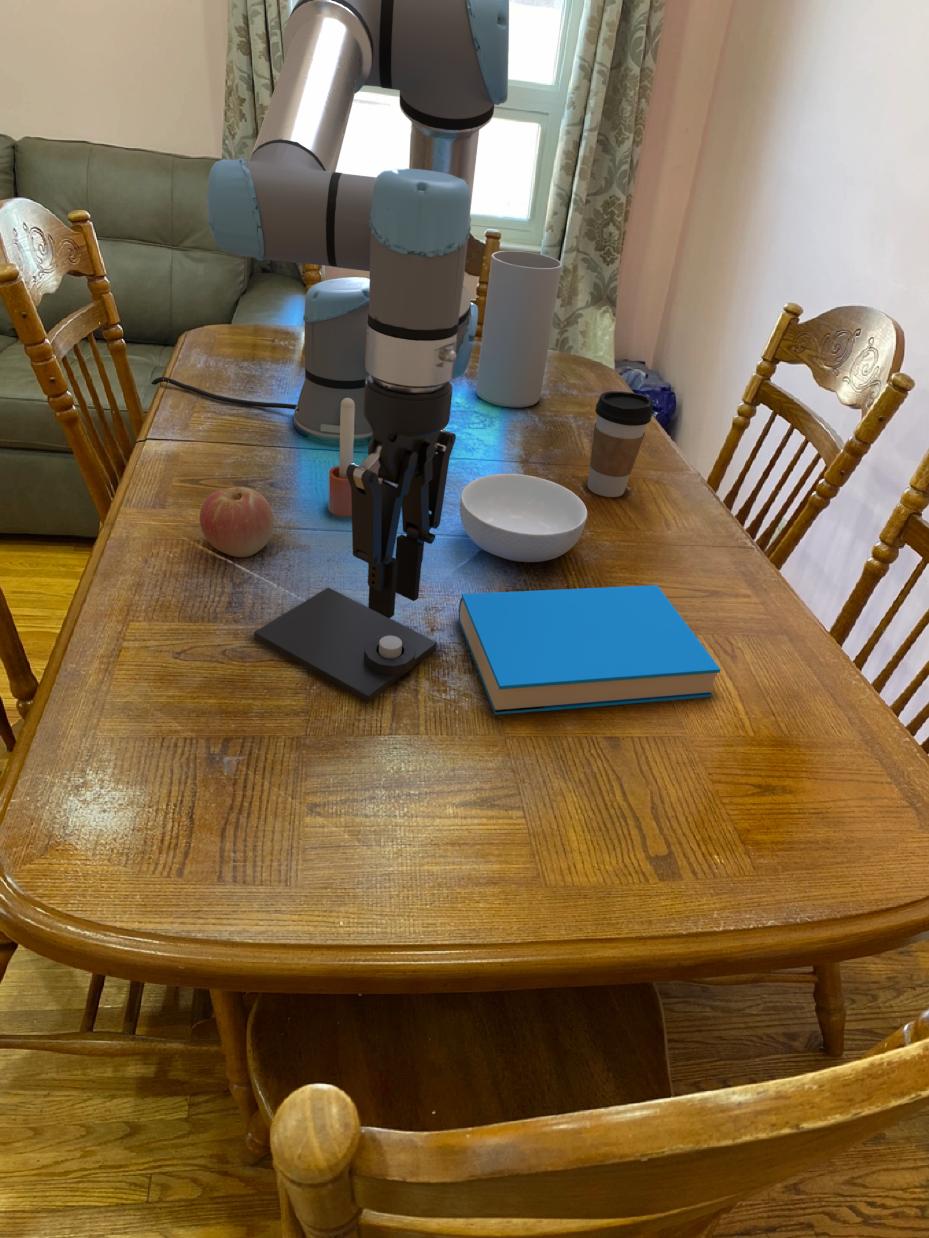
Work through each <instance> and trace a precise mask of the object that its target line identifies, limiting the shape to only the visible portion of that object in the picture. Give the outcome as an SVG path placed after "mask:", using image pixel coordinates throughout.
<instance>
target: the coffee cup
mask: <svg viewBox="0 0 929 1238" xmlns="http://www.w3.org/2000/svg"><path fill="white" fill-rule="evenodd" d="M653 406H654V401H653V399H652V398H651V397H649V396H647V395H646V394H643V393H638V392H632V391H619V390H616V391H614V390H613V391H612V390H611V391H605V392H603V393H601V394H600V395H599V398H598V400H597V403H596V405H595V411H594V412H595V413H596V420H595V422H594V426H593V434H592V443H591V453H590V461H589V470H588V471H589V472H588V477H587V478H588V479H587V488H588V490H589V491H591V492H592V493H594V494H596V495H598V496H601V497H604V498H605V497H607V498H618V497H621V496H623V495H624V493H625V491H626V488H627V485H628V482H629V480H630V476H631V474H632V471H633V468H634V466H635V464H636V463H635V462H636V460H637V457H638V454H639V451H640V449H641V446H642V443H643V441H644V438H645V435H646V432H645V431H646V427H647V424H649V423H650V422H651V420H652V417H653Z"/></svg>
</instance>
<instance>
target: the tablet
mask: <svg viewBox="0 0 929 1238" xmlns="http://www.w3.org/2000/svg"><path fill="white" fill-rule="evenodd" d="M253 634H254V635H253V637H254V640H255V641H256V642H258V643H260V644H261V645H263V646H265V647H267V648H269V649H271V650H272V651H274V652H276V653H278V654H279V655H281V656H283V657H285V658H286V659H288V660H290V661H291V662H294V663H295V664H297V665H298V666H301V667H303V668H304V669H306V670H308V671H310V672H311V673H313V674H315V675H316V676H318V677H320V678H321V679H324V680H325V681H328V682H329V683H330V684H333V685H334V686H336V687H338V688H339V689H341V690H343V691H344V692H347V693H348V694H350V695H352V696H353V697H355V698H357V699H359V700H361V701H362V702H364V703H366V704H370V702H372V701H373V700H375V699H376V698H377V697H378V696H379V695H381V694H382V693H383V692H384V691H386V690H387V689H388V688H389V687H391V686H392V685H394V684H395V683H396V682H397V681H398V680H400V679H401V678H402V677H404V676H405V675H406V674H407V673H408V672H410V671H411V670H412V669H413V668H415V667H416V666H417V665H418V664H420V663H421V662H423V660H425V659H426V658H428V657H429V656H430V655H431V654H432V653H434V652H435V651H436V650H437V645H438V644H437V643H438V642H437V641H436V640H433V639H431V638H429V637H427V636H426V635H423V634H422V633H419V632H417V631H415V630H413V629H411V628H409V627H408V626H406V625H404V624H401V623H399V622H398V621H395V620H394V619H392V618H387V617H385V616H383V615H381V614H380V613H378V612H376V611H374V610H372V609H370V608H368V606H366V605H364V604H362V603H360V602H358V601H356V600H354V599H352V598H350V597H348V596H346V595H344V594H342V593H340V592H338V591H336V590H334V589H332V588H330V587H326V588H325V589H323V590H322V591H320V592H318V593H317V594H315V595H313V596H312V597H310V598H308V599H306V600H305V601H304V602H302V603H300V604H298V605H296V606H294V608H292V609H290V610H288V611H286V612H285V613H283V614H282V615H280V616H278V617H276V618H275V619H274V620H272V621H270V622H268V623H267V624H264V625H263V626H262V627H260V628H258V629H257V630H256V631H254V632H253ZM385 636H396V637H398V638H399V639H401V641H402V652H401V655H400V656H399V657H398V658H394V659H390V658H384V657H382V656H381V655H380V654H379V641H380V639H381V638H383V637H385Z"/></svg>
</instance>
